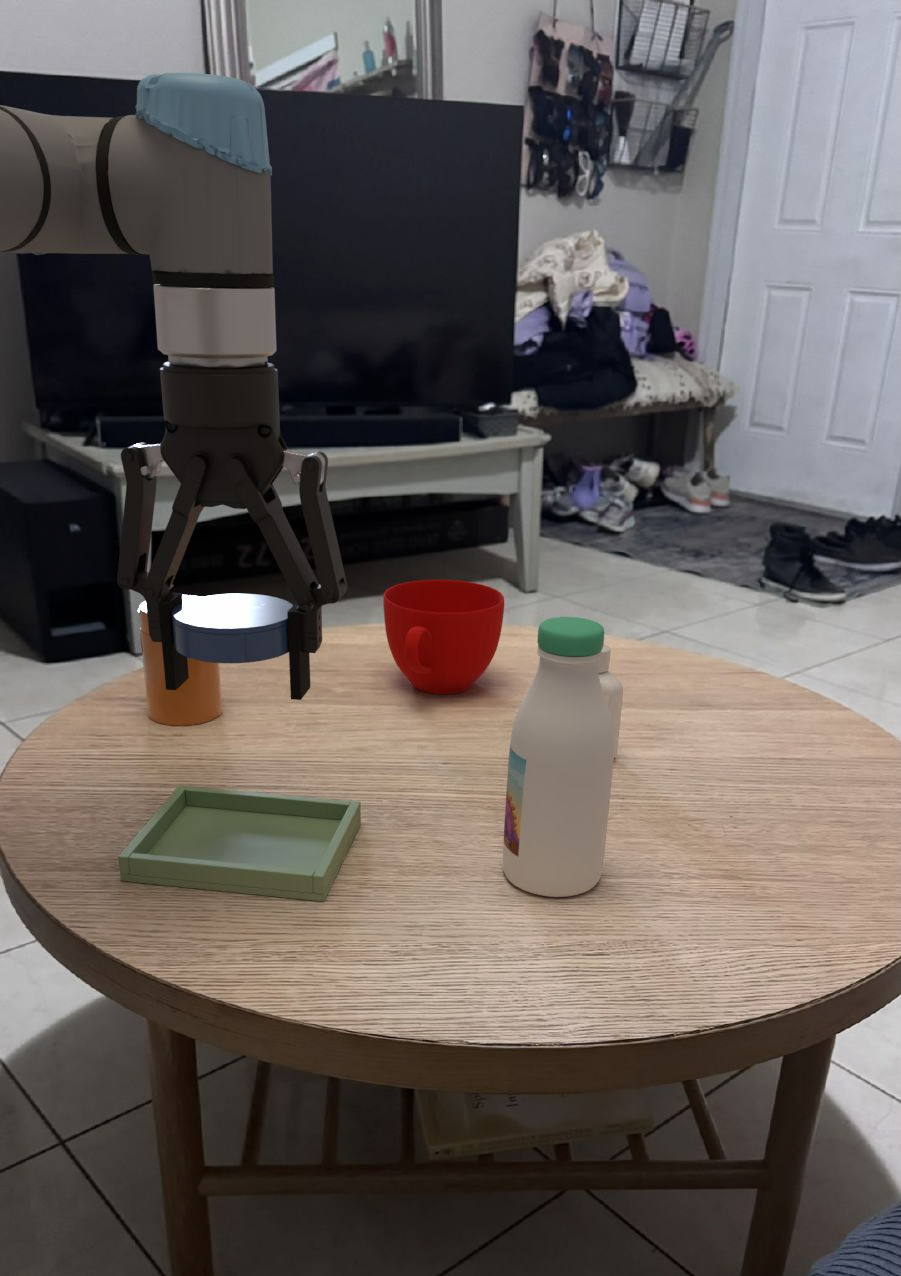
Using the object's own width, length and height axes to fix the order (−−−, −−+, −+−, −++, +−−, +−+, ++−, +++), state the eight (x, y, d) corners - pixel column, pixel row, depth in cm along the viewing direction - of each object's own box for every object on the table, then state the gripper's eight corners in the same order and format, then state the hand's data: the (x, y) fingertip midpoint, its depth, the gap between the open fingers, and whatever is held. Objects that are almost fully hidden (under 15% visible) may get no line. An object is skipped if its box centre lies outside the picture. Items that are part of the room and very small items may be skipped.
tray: (120, 880, 84) (117, 856, 83) (180, 807, 95) (178, 784, 94) (323, 901, 82) (323, 876, 81) (360, 824, 93) (360, 801, 92)
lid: (309, 657, 79) (308, 623, 77) (184, 669, 76) (181, 633, 75) (282, 621, 86) (281, 589, 85) (166, 631, 83) (163, 598, 82)
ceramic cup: (350, 707, 117) (349, 614, 112) (407, 658, 131) (408, 574, 127) (469, 725, 113) (473, 630, 109) (513, 673, 128) (518, 587, 123)
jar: (136, 722, 111) (125, 613, 106) (164, 696, 118) (154, 592, 113) (208, 728, 110) (200, 618, 105) (231, 702, 117) (225, 597, 112)
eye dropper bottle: (578, 767, 105) (589, 644, 99) (555, 744, 109) (564, 626, 104) (621, 763, 106) (634, 641, 101) (596, 740, 111) (607, 623, 105)
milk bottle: (617, 867, 88) (644, 620, 79) (575, 910, 82) (600, 649, 73) (529, 841, 91) (546, 602, 82) (483, 881, 85) (496, 628, 76)
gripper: (392, 361, 74) (391, 681, 84) (86, 349, 77) (120, 661, 87) (369, 371, 68) (371, 718, 78) (34, 357, 70) (77, 695, 80)
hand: (238, 688), depth 82 cm, fingers closed on lid, 9 cm apart
